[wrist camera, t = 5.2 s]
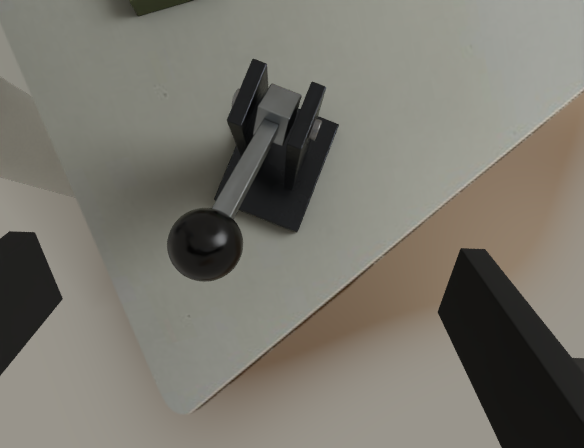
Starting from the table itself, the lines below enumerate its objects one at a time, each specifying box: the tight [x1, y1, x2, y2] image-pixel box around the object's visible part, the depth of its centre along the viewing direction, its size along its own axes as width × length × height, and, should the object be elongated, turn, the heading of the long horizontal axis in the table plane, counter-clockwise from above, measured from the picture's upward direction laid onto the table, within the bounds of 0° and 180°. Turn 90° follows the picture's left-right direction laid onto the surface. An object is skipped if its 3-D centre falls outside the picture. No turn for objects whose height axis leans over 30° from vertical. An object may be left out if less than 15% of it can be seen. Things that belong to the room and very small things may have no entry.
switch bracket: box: [214, 59, 339, 232], centre depth 29 cm, size 12×9×15 cm
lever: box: [167, 84, 301, 282], centre depth 20 cm, size 14×4×4 cm, turn 159°
